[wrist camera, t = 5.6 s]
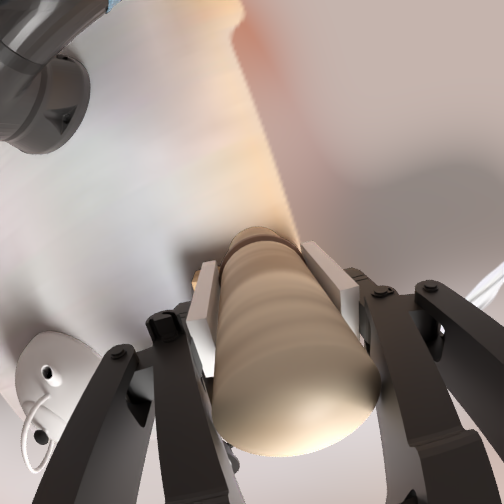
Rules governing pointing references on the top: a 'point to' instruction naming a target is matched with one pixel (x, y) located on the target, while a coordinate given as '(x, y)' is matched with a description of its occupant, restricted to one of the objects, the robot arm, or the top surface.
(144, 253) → the top surface
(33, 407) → the kettle
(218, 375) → the peg
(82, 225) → the top surface
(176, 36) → the top surface
